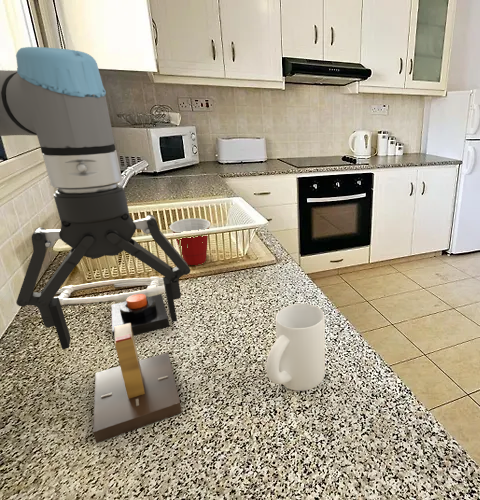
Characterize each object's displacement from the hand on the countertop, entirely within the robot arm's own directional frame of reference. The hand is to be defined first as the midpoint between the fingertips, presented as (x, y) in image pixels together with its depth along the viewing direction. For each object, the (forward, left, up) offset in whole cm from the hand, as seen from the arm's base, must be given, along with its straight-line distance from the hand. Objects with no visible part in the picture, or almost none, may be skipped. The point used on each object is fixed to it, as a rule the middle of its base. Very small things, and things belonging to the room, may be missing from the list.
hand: (123, 330), depth 55 cm
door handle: (-40, -3, -13) cm, 42 cm away
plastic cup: (-52, +18, -13) cm, 57 cm away
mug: (+9, +23, -13) cm, 28 cm away
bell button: (-25, +2, -9) cm, 27 cm away
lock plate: (0, 0, -13) cm, 13 cm away
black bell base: (-25, +2, -13) cm, 28 cm away
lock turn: (0, 0, -10) cm, 10 cm away
